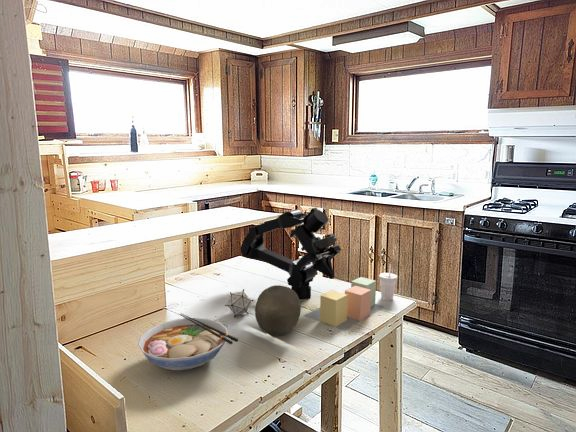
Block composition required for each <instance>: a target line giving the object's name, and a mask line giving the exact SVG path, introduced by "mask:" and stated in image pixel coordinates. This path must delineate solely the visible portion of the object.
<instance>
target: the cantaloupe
mask: <svg viewBox="0 0 576 432" xmlns="http://www.w3.org/2000/svg"><path fill="white" fill-rule="evenodd" d="M301 307H302V306H301V301H300V300H299V297H298V295H297V294H296V293H295V291H294V290H292V289H291V287H288V286H285V285H281V284H277V285H271V286H268V287H267V288H265V289H263V290H262V291H261V293H260V294H259V295H258V297H257V300H256V303H255V307H254V314H255V315H254V316H255V320H256V322H257V325H258V326H259V328H260V329H261V330H262V331H263V332H265V334H267V335H269V336H273V337H274V336H282V335H283V336H284V335H285V334H288V333H289V332H290V331H292V330H293V329H294V328H295V326H296V325H297V324H298V322H299V320H300V316H301V310H302V308H301Z"/></svg>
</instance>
